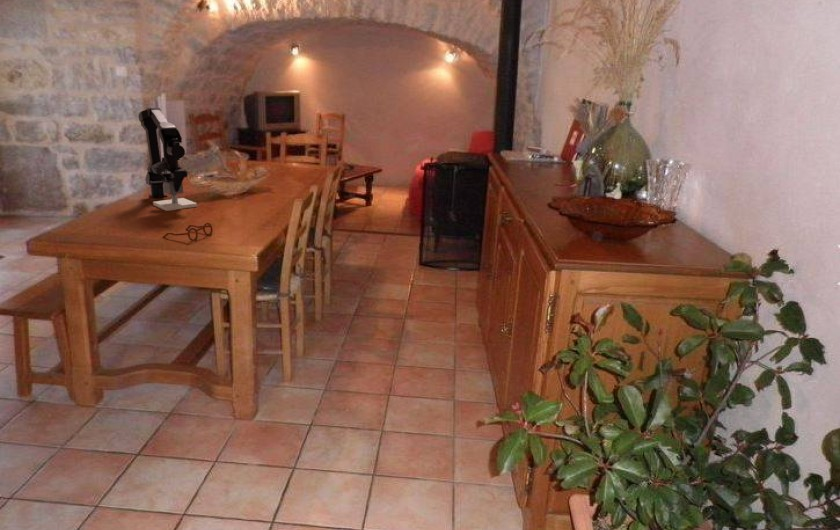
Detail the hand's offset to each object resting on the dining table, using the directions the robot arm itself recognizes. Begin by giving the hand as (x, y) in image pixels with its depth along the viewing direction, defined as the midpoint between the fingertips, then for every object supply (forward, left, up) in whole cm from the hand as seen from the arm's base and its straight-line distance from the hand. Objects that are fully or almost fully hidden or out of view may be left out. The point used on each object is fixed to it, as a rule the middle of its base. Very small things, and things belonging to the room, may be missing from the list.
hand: (173, 190), depth 283 cm
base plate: (0, 0, -7) cm, 7 cm away
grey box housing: (0, 0, -1) cm, 1 cm away
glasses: (+49, -17, -8) cm, 53 cm away
